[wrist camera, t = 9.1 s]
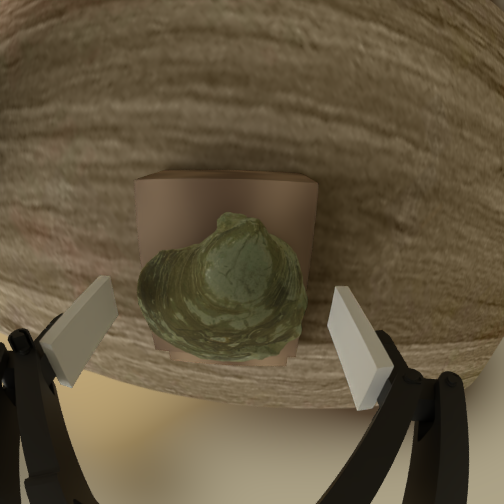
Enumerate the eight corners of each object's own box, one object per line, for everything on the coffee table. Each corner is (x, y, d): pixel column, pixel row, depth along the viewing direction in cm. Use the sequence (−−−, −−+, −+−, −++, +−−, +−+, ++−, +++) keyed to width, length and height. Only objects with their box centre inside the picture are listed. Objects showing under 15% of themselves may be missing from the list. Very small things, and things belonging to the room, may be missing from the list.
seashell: (138, 354, 18) (108, 358, 9) (147, 260, 21) (133, 192, 12) (271, 361, 21) (344, 364, 12) (271, 273, 23) (334, 221, 14)
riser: (177, 340, 27) (163, 382, 22) (163, 170, 21) (134, 179, 15) (283, 345, 27) (289, 389, 22) (301, 173, 21) (318, 183, 15)
